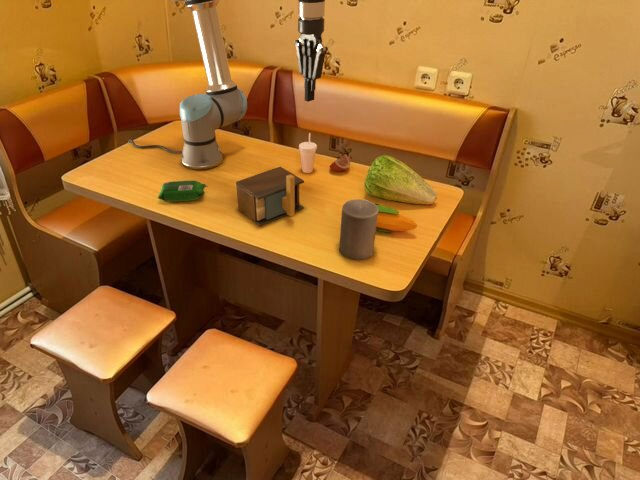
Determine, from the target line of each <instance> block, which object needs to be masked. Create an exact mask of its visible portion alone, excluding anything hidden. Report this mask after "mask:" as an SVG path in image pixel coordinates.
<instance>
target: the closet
mask: <svg viewBox="0 0 640 480" xmlns="http://www.w3.org/2000/svg"><path fill="white" fill-rule="evenodd" d="M290 174H291V175H293V176H294V177H295V213H297V212H299V211H301V210H304V209H305V207H304V206H303V205H302V204H300V185H302V184H304V183H305V180H304V179H302V178H301V177H299V176H297V175H296V174H294V173H292V172H291V171H289V170H287V169H286V168H284V167H283V166H277V167H274V168H272V169H268V170H266V171H263V172H260V173H258V174H254V175H251V176H248V177H245V178H243V179H239V180H237V181H235V186H236V187H235V188H236V199H237V200H236V201H237V210H238V211H239V212H241V213H242V215H244V216H246V217H247V218H248V219H249V220H251V221H252V222H253V223H255V224H256V225H257V226H258V227H263V226H264V225H267V224H270V223H272V222H274V221H277V220H280V219H283V218H284V217H287V216H288V215H287V212H286V213H283V214H281V215H278V216H276V217H273V218H271V219H268V220H266V217H265V197H267V196H270V195H272V194H275V193H278V192H280V191H283V190H286V176H287V175H290Z"/></svg>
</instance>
